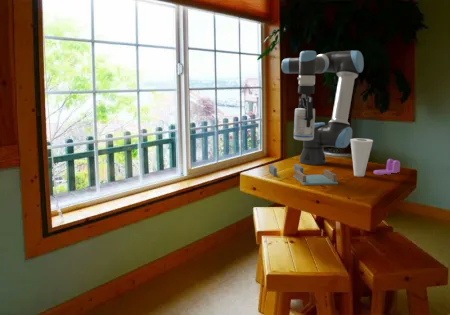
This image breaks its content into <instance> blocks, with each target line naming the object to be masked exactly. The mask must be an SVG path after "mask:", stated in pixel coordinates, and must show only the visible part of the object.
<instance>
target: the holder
mask: <svg viewBox="0 0 450 315" xmlns="http://www.w3.org/2000/svg"><path fill="white" fill-rule="evenodd" d="M295 170H299V171H300V172H301V173H303V174H304V167H303V166H301V165H300V164H298V163H294V164H293V172H294V173H295ZM277 172H278V168H277V167H276V166H275V165H273V164H271V163H270V164H268V173H269V174H270V175H272V176H273V177H278V175H277V174H278V173H277Z"/></svg>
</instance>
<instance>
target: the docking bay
mask: <svg viewBox="0 0 450 315" xmlns="http://www.w3.org/2000/svg"><path fill="white" fill-rule="evenodd" d="M337 177H338V176H337V174H336V173H334V172H331V171H330V170H328V169H323V174H305V173H304V172H303V173H301V172H300V171H299V170H295V172H294V174H293V178H294V179H296V180H297V181H298V182H299V183H301V184H302V185H303V186H318V185H319V186H321V185H322V186H323V185H339V182H338V181H337Z"/></svg>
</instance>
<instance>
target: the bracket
mask: <svg viewBox="0 0 450 315" xmlns="http://www.w3.org/2000/svg"><path fill="white" fill-rule="evenodd" d="M400 170H401V162H400V160H398V159H397V160H394V159H392V158H388V159H387V160H386V166H385V169H375V170H373V174H374V175H378V176H380V175H381V176H384V174H387V175H392V174H391V173H397V172H401V171H400Z"/></svg>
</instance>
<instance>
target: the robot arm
mask: <svg viewBox="0 0 450 315" xmlns="http://www.w3.org/2000/svg"><path fill="white" fill-rule="evenodd" d="M364 64H365V63H364V56H363V54H362V52H361V51H359V50H351V49H350V50H343V51H341V50H339V51H337V50H336V51H330V52H326V53H320V54H317V52H316V51H315V50H302V51H300V53H299V57H287V58H284V59H283V60H282V61H281V71H282V73H284V74H298V77H297V81H298V87H297V93H298V94H301V96H299V97H298V108H305V109H307V110H306V111H305V112H306V113H305V117H306V118H305V119H304V120H305V127H304V134H310V131H311V120H312V119H313V109H314V108H313V106H314V105H313V103H314V102H313V101H314V97H312V96H311V95H312V94H313V95H314V94H315V88H316V87H315V84H316V74H324V73H335V74H336V76H337V77H338V80H337V85H336V91H335V97H334V104H333V110H332V113H331V114H332V115H331V119H330V120H329V121H328V122H327V125H326V123H325V122H315V124H314V139H313V140H308V141H305V140H302V141H303V144H302V151H301V153H300V156H299V159H298V160H299V163H300V164H304V165H309V166H311V165H312V166H320V165H321V166H322V165H326V164H327V157H326V155H325V150H324V147H331V148H338V149H339V148H342V149H345V148H347V147H348V146H349V145H350V144H351V141H350V139H353V129H352V127H351V126H350V125H351V124H350V122H348V121H349V120H348V119H349V116H350V115H349V114H350V109H351V102H352V96H353V90H354V85H355V79H357V78H358V77H359V73H360V74H361V73H362V72H363V70H364V66H365V65H364Z"/></svg>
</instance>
